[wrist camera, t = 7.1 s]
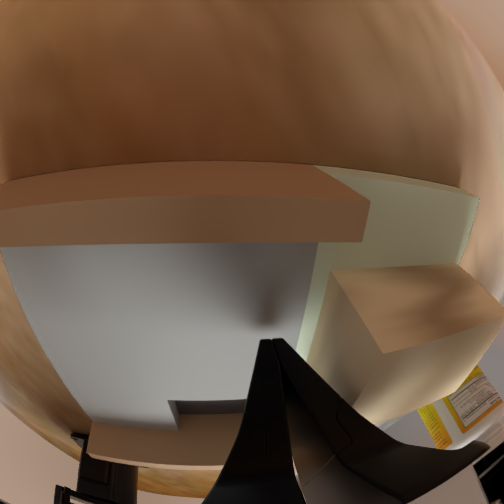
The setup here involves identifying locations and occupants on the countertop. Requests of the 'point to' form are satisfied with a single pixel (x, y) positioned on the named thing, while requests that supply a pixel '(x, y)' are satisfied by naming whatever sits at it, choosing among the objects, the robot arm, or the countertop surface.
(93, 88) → the countertop surface
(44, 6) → the countertop surface
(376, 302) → the block
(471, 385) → the supplement bottle
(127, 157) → the countertop surface
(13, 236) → the board
